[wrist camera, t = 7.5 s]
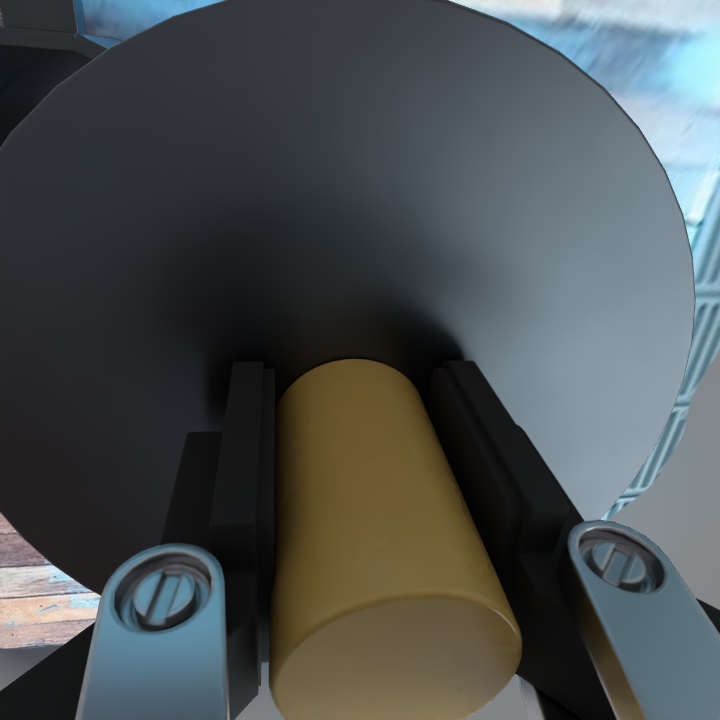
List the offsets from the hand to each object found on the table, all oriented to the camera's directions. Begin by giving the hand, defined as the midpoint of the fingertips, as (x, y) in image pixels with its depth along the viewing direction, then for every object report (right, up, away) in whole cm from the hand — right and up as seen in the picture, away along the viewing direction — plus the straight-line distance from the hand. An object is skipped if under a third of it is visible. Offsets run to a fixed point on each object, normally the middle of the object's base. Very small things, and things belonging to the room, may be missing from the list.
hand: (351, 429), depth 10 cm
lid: (0, 0, +1) cm, 1 cm away
